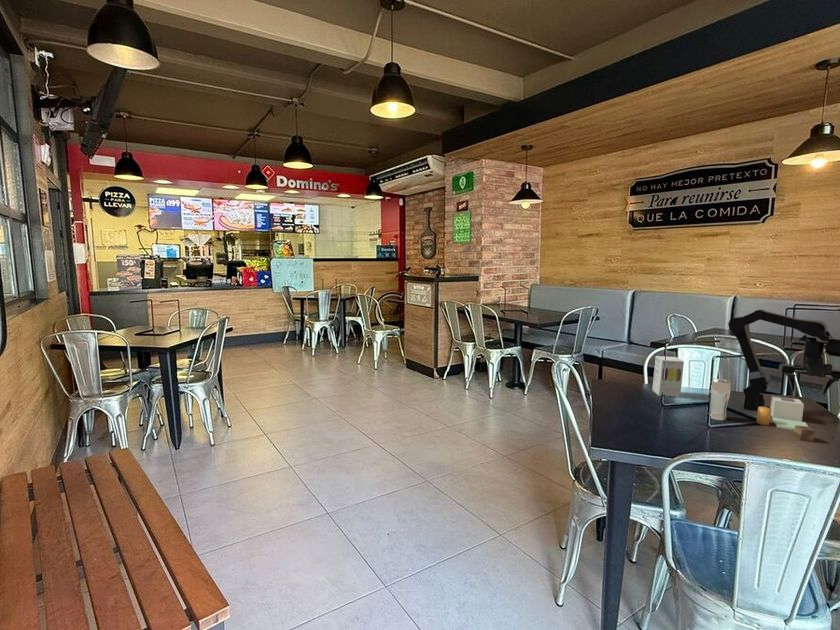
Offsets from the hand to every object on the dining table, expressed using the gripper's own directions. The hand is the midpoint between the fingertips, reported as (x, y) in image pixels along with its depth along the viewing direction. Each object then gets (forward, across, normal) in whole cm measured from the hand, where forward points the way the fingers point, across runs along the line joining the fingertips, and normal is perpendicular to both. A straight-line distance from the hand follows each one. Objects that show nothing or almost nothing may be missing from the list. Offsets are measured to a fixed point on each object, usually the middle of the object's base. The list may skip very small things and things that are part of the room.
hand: (807, 392), depth 177 cm
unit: (+11, -6, 0) cm, 13 cm away
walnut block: (+11, -5, -24) cm, 27 cm away
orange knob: (+11, -15, -13) cm, 23 cm away
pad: (+11, -6, -11) cm, 17 cm away
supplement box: (+11, -48, +10) cm, 50 cm away
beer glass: (+11, -30, -15) cm, 35 cm away
